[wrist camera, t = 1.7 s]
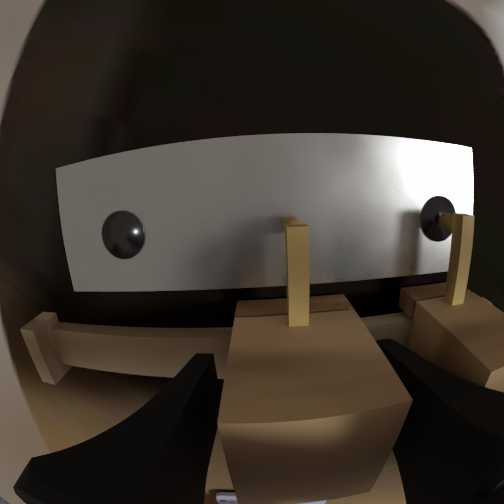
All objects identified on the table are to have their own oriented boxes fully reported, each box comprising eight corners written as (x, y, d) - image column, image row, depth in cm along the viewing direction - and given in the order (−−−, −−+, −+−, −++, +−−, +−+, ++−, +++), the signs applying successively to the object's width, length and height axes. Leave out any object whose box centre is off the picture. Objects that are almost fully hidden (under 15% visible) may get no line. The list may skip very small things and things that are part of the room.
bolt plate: (462, 266, 10) (468, 269, 10) (79, 287, 11) (73, 292, 10) (465, 148, 9) (472, 147, 8) (61, 168, 9) (54, 168, 9)
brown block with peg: (335, 382, 11) (369, 491, 6) (245, 389, 12) (238, 505, 6) (345, 211, 10) (445, 255, 4) (230, 216, 10) (190, 271, 4)
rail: (471, 339, 11) (491, 358, 9) (61, 361, 12) (42, 381, 10) (484, 287, 10) (508, 303, 8) (43, 311, 11) (20, 329, 9)
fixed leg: (435, 362, 11) (495, 439, 5) (385, 374, 11) (436, 469, 6) (461, 208, 9) (571, 239, 4) (406, 207, 9) (525, 243, 4)
